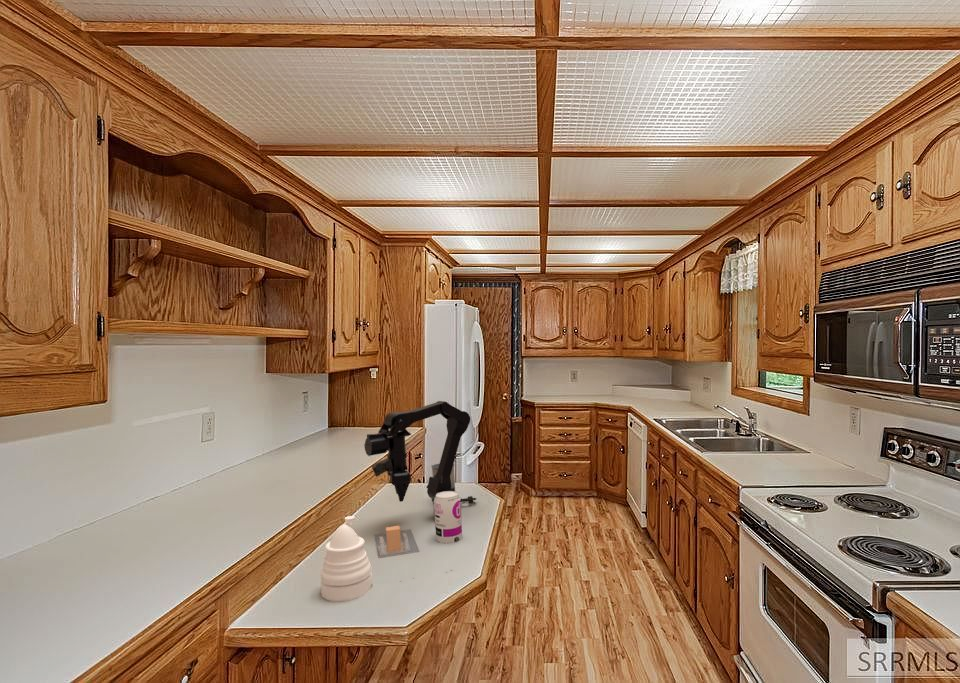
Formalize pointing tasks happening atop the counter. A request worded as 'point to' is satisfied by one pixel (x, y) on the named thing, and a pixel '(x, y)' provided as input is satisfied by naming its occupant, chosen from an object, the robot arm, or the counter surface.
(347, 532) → the honey pot
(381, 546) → the end holder
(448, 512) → the supplement can
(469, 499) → the milk frother
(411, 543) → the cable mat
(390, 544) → the orange rectangular block
